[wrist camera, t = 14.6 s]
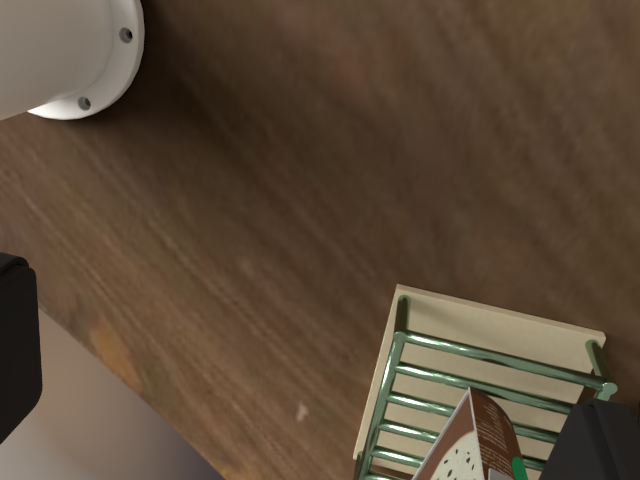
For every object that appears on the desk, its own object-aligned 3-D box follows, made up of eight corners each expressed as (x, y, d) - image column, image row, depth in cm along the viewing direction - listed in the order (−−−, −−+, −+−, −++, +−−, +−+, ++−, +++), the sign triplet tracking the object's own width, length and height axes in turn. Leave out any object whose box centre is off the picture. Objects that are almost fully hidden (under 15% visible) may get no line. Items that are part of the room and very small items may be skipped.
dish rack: (353, 451, 48) (336, 549, 40) (397, 283, 41) (386, 361, 33) (527, 497, 47) (545, 608, 39) (603, 331, 40) (645, 425, 32)
